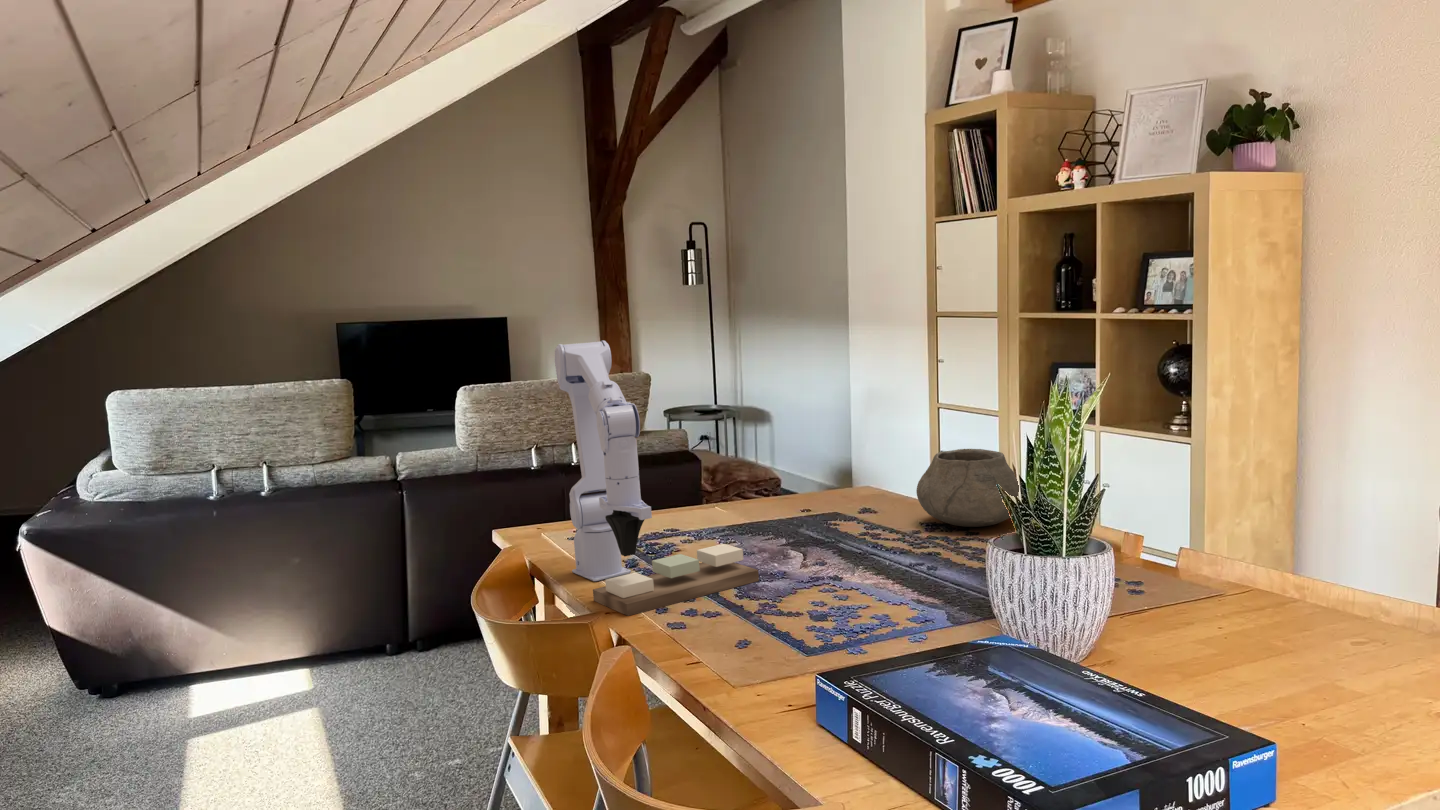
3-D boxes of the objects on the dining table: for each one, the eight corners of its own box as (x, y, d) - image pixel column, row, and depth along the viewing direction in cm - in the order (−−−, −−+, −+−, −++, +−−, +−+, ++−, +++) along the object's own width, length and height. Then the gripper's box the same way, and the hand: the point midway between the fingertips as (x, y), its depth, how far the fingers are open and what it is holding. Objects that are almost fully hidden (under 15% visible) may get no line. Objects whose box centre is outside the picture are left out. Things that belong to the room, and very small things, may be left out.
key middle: (652, 571, 184) (651, 560, 184) (681, 564, 188) (680, 553, 187) (670, 578, 179) (669, 566, 179) (699, 570, 183) (698, 559, 183)
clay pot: (1022, 512, 226) (1019, 443, 224) (1028, 536, 205) (1025, 461, 203) (920, 513, 231) (917, 446, 229) (915, 537, 210) (912, 464, 208)
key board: (593, 600, 181) (592, 589, 181) (720, 568, 196) (720, 558, 196) (628, 616, 171) (627, 604, 171) (759, 580, 187) (758, 569, 186)
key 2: (697, 560, 190) (696, 550, 189) (724, 554, 193) (723, 543, 193) (716, 566, 185) (715, 555, 184) (743, 559, 188) (742, 549, 188)
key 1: (606, 591, 179) (605, 579, 179) (636, 583, 182) (635, 572, 182) (623, 598, 174) (622, 586, 174) (654, 590, 178) (653, 579, 177)
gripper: (581, 475, 180) (587, 551, 181) (622, 485, 168) (629, 567, 170) (617, 468, 184) (623, 544, 185) (659, 478, 172) (665, 558, 174)
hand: (628, 554), depth 178 cm, fingers closed
